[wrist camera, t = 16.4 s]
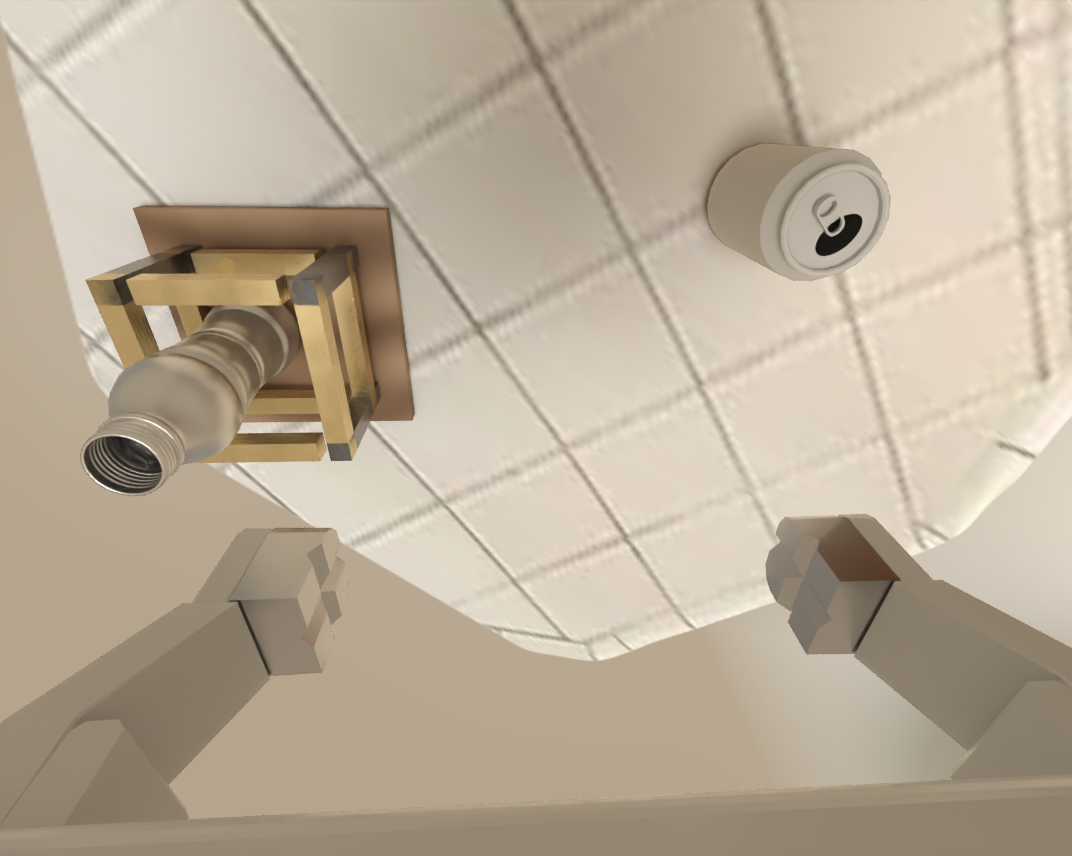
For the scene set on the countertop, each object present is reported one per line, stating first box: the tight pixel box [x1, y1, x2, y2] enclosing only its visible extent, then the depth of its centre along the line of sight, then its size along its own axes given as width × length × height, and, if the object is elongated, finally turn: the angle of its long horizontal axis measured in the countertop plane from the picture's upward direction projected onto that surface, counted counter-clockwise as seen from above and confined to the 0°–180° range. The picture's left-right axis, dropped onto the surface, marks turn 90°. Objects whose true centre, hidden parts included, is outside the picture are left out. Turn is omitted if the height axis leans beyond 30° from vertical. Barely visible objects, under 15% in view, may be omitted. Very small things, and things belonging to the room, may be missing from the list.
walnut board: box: [133, 206, 414, 422], centre depth 42 cm, size 18×18×1 cm
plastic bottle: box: [80, 304, 300, 496], centre depth 33 cm, size 6×7×20 cm
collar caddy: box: [86, 245, 381, 463], centre depth 37 cm, size 13×13×10 cm
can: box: [707, 143, 890, 281], centre depth 34 cm, size 8×8×12 cm
